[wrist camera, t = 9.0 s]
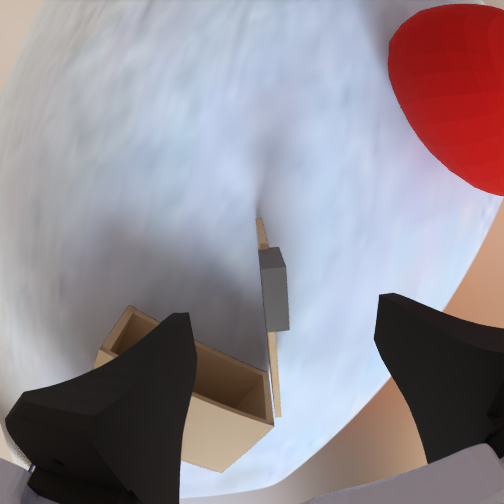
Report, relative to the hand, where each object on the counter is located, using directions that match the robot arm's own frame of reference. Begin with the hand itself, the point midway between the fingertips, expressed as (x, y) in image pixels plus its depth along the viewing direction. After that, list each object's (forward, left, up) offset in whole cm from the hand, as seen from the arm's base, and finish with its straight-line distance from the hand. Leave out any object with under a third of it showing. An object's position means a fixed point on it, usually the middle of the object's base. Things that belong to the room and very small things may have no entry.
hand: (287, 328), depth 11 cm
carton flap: (-3, -2, -10) cm, 11 cm away
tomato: (+17, -6, -11) cm, 21 cm away
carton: (-13, 0, -10) cm, 17 cm away
